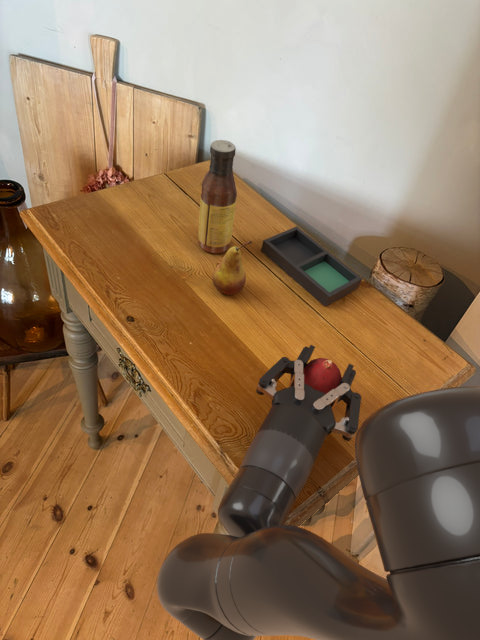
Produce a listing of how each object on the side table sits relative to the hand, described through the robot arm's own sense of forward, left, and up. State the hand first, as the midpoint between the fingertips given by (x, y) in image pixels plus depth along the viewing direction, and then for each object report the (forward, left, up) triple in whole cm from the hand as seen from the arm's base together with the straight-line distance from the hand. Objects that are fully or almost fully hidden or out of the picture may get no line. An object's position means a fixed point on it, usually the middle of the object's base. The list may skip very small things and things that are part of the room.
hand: (330, 358), depth 65 cm
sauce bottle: (+29, -18, -6) cm, 35 cm away
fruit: (+21, -9, -6) cm, 24 cm away
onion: (0, +2, -6) cm, 7 cm away
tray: (+11, -23, -6) cm, 27 cm away
